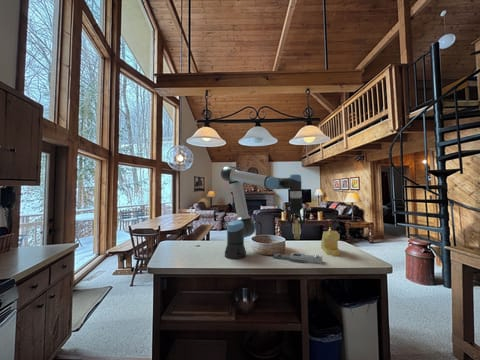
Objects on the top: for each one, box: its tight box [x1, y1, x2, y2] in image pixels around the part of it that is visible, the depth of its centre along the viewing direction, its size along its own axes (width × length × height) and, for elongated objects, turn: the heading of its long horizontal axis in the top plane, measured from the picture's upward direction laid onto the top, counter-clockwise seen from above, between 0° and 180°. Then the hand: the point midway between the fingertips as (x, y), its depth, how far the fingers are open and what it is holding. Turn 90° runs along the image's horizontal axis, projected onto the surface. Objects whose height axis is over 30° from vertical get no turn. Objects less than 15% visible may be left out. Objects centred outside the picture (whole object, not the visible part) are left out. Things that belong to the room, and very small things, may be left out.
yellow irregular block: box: [320, 230, 341, 257], centre depth 160 cm, size 20×9×16 cm, turn 171°
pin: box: [293, 219, 301, 240], centre depth 142 cm, size 4×4×12 cm
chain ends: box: [272, 252, 324, 265], centre depth 142 cm, size 31×9×4 cm, turn 68°
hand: (296, 233), depth 142 cm, fingers closed on pin, 3 cm apart
